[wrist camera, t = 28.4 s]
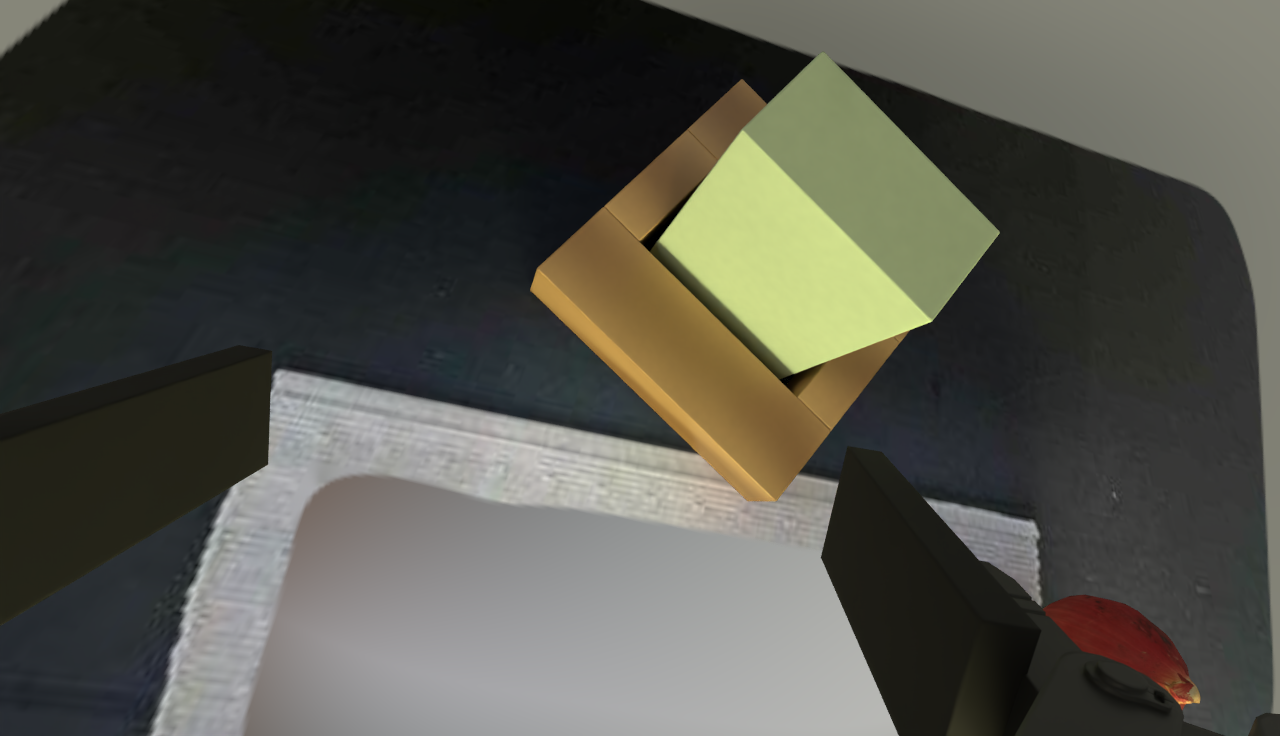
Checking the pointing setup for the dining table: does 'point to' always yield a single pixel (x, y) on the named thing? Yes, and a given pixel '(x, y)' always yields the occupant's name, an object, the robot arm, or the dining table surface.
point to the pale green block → (822, 228)
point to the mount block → (695, 325)
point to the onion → (1124, 641)
